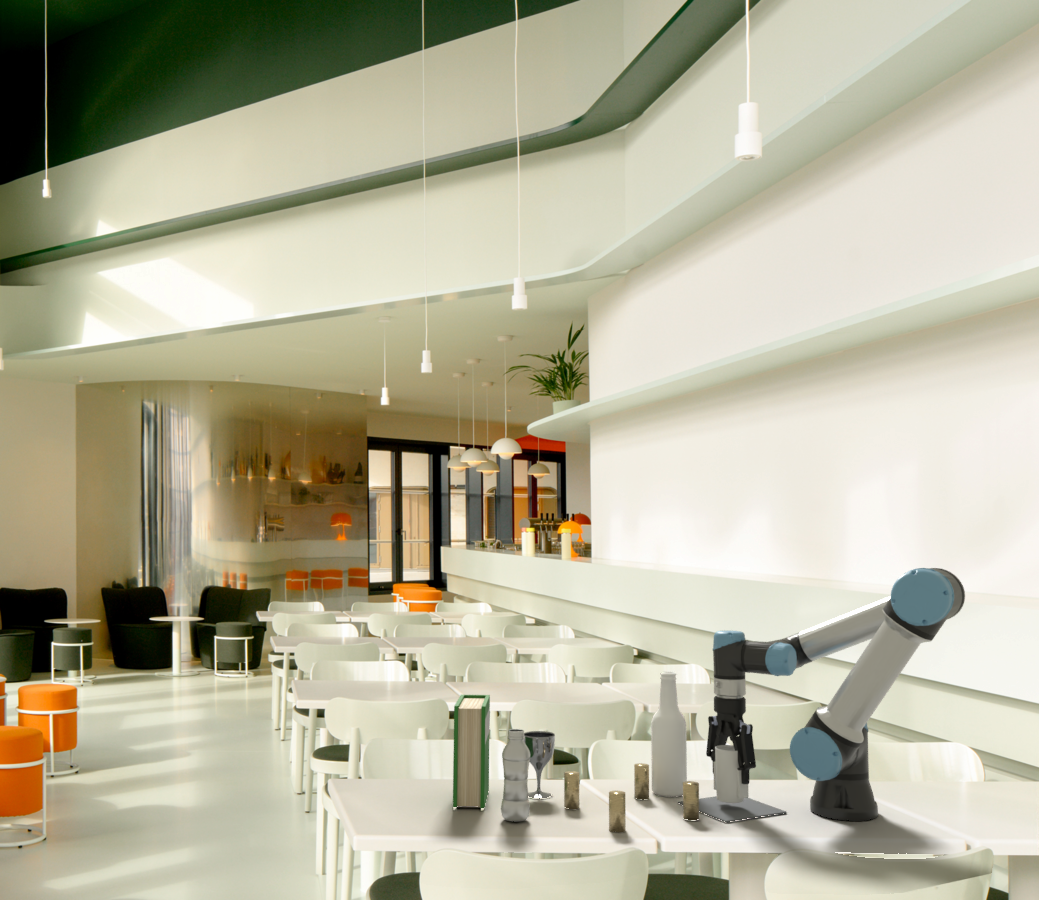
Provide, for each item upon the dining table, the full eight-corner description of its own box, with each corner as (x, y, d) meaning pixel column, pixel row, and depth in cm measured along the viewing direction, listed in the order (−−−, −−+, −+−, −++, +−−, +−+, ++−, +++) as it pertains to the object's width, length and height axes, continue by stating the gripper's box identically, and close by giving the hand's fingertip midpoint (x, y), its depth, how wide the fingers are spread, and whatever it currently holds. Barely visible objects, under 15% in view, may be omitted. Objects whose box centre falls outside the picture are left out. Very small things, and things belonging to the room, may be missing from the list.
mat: (786, 813, 222) (786, 811, 222) (725, 823, 214) (725, 821, 214) (736, 795, 238) (736, 793, 238) (677, 803, 230) (677, 801, 230)
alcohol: (647, 795, 237) (647, 673, 240) (656, 787, 245) (655, 669, 248) (682, 799, 234) (681, 675, 237) (690, 791, 242) (689, 671, 245)
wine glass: (517, 797, 234) (518, 735, 236) (529, 790, 242) (530, 730, 243) (548, 801, 231) (548, 738, 233) (559, 793, 239) (559, 732, 240)
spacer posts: (702, 820, 216) (702, 784, 217) (614, 833, 206) (614, 795, 206) (643, 795, 237) (643, 762, 238) (561, 806, 226) (561, 772, 227)
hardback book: (484, 810, 223) (485, 706, 225) (452, 810, 223) (454, 706, 225) (488, 791, 240) (489, 694, 242) (459, 791, 240) (460, 694, 243)
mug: (745, 804, 221) (744, 751, 222) (716, 802, 222) (715, 750, 223) (742, 793, 231) (742, 742, 232) (714, 791, 232) (714, 741, 233)
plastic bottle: (515, 815, 219) (515, 726, 221) (536, 821, 214) (536, 730, 216) (494, 820, 215) (495, 730, 217) (515, 826, 210) (516, 734, 212)
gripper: (690, 690, 236) (691, 784, 234) (746, 703, 218) (747, 805, 215) (714, 689, 239) (715, 781, 237) (771, 701, 221) (773, 802, 219)
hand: (730, 793), depth 226 cm, fingers closed on mug, 8 cm apart
